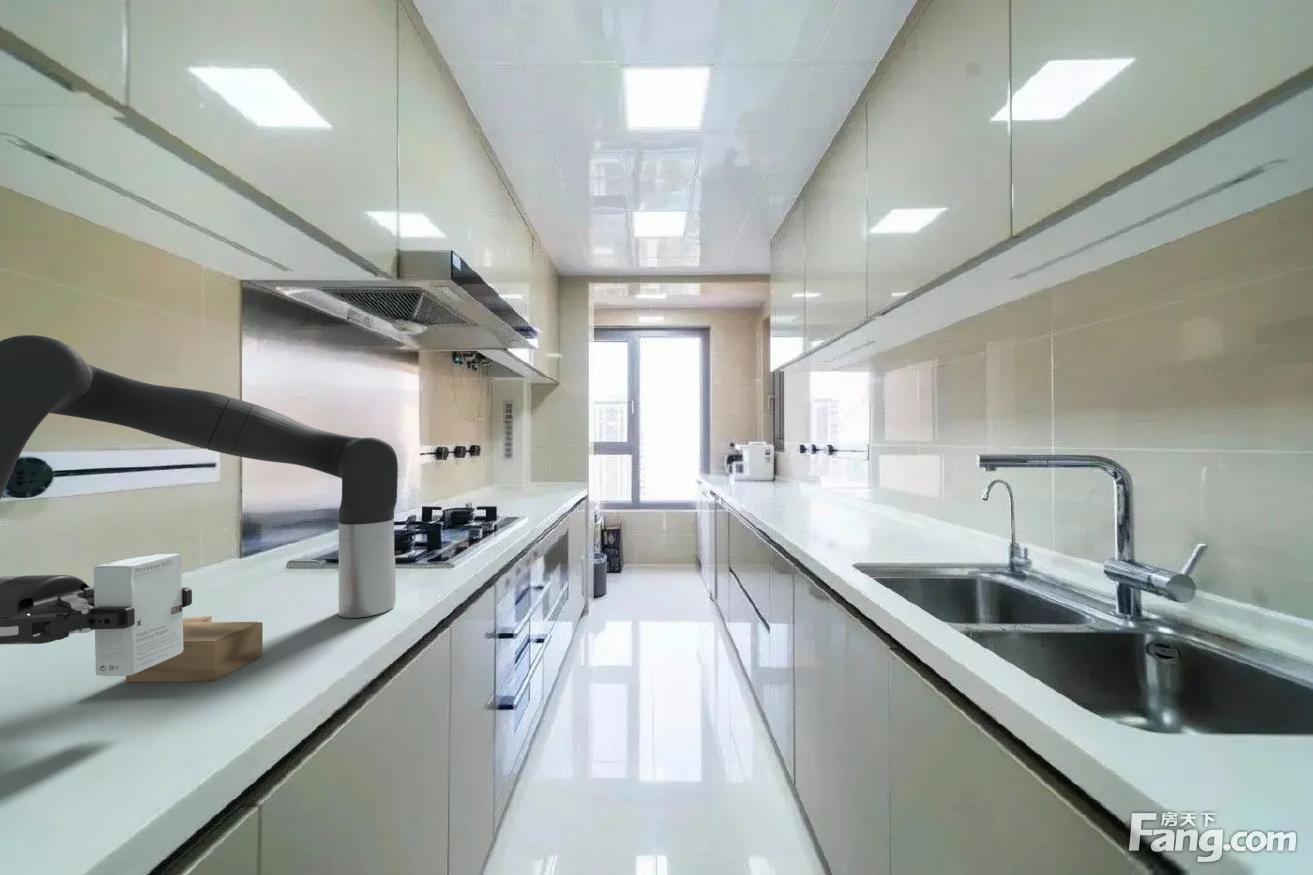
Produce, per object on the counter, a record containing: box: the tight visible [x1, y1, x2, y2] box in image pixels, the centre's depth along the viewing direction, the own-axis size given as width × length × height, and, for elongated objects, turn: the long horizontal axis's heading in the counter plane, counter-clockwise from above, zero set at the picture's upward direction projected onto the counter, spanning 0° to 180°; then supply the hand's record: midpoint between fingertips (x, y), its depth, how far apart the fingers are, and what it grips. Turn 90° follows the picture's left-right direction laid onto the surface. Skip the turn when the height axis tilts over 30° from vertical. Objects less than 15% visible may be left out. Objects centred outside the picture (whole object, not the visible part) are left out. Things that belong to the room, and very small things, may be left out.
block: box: [183, 615, 213, 623], centre depth 78 cm, size 4×4×4 cm
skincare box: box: [93, 553, 184, 677], centre depth 56 cm, size 6×4×12 cm
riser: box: [125, 621, 263, 683], centre depth 70 cm, size 8×12×5 cm, turn 90°
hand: (161, 606), depth 56 cm, fingers closed on skincare box, 6 cm apart
